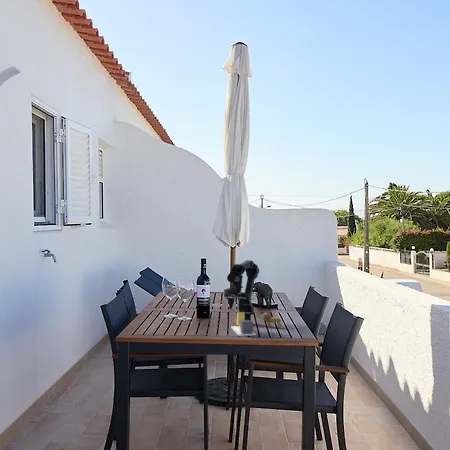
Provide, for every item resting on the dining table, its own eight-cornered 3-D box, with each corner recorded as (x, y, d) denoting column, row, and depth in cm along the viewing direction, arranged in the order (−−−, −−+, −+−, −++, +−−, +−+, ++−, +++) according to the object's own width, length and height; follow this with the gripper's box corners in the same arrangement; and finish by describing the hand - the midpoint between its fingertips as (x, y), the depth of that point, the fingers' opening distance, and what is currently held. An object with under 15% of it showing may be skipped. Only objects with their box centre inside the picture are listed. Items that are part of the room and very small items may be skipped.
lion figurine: (261, 327, 299) (261, 313, 299) (263, 325, 304) (263, 311, 304) (283, 329, 294) (283, 314, 294) (285, 327, 299) (285, 313, 299)
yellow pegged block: (236, 324, 294) (236, 312, 294) (243, 324, 295) (243, 312, 295) (237, 325, 290) (238, 313, 290) (244, 325, 291) (244, 313, 291)
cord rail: (231, 328, 296) (231, 315, 296) (246, 327, 298) (246, 314, 298) (239, 335, 274) (239, 322, 274) (255, 335, 276) (256, 321, 276)
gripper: (218, 282, 299) (215, 307, 296) (235, 282, 284) (233, 308, 281) (232, 284, 305) (230, 309, 302) (250, 284, 290) (248, 310, 287)
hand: (234, 309), depth 293 cm, fingers open, 9 cm apart
